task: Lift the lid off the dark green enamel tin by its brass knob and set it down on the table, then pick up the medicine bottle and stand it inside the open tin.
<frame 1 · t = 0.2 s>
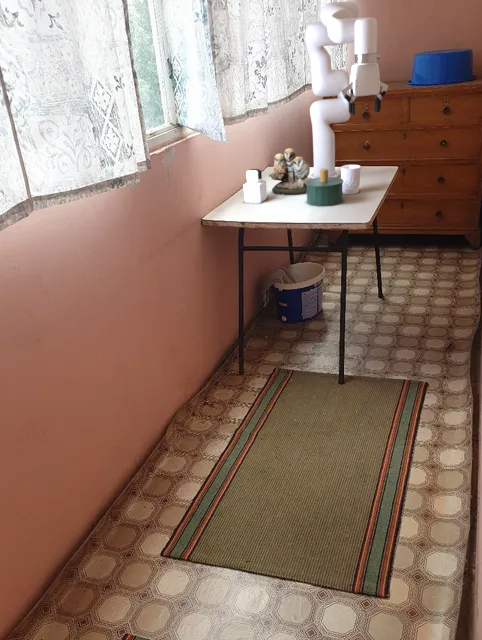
hand: (364, 113, 218), 31 cm above the table, tool pointing down, fingers open, 9 cm apart
tin: (324, 201, 236), on the table
medicine bottle: (255, 201, 244), on the table
white cup: (350, 192, 246), on the table
lid: (324, 183, 232), point 7 cm above the table, touching tin
owl figurine: (291, 191, 253), on the table
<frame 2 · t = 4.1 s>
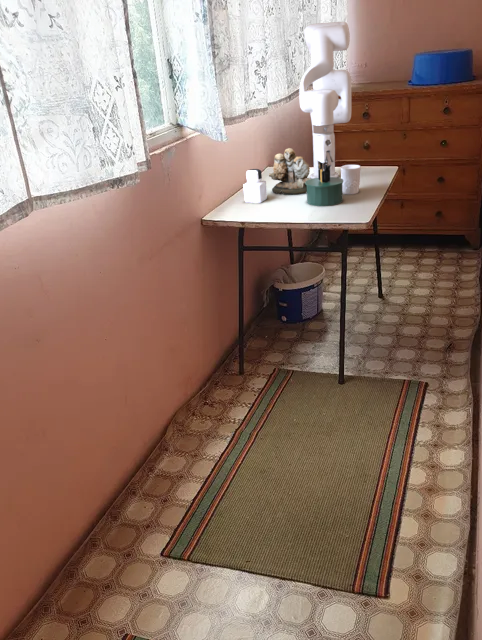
hand: (324, 180, 232), 8 cm above the table, tool pointing down, fingers closed on lid, 3 cm apart
lid: (324, 183, 232), point 7 cm above the table, touching gripper, tin
everything else where it was.
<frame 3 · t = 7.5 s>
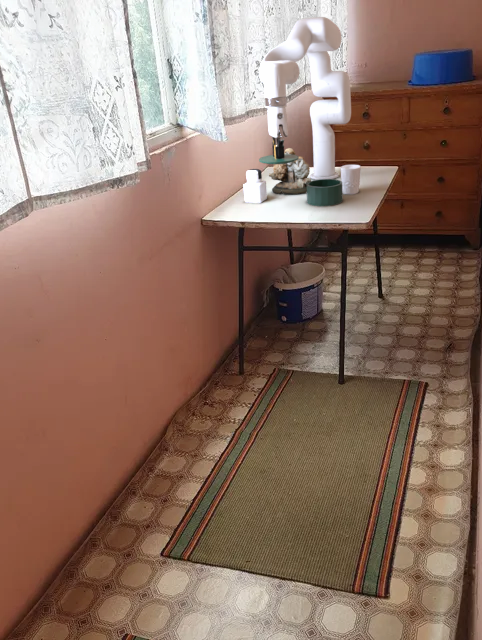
hand: (278, 156, 222), 19 cm above the table, tool pointing down, fingers closed on lid, 3 cm apart
lid: (278, 159, 222), point 18 cm above the table, touching gripper
everything else where it was.
when the fingers open (2 cm above the table, at t = 10.8 s): lid stays where it is, point 1 cm above the table.
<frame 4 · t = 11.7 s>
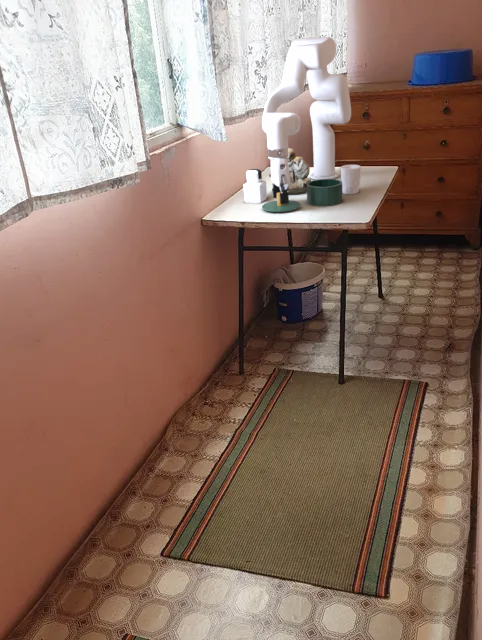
hand: (280, 200, 230), 3 cm above the table, tool pointing down, fingers open, 9 cm apart
lid: (281, 206, 231), point 1 cm above the table
everything else where it was.
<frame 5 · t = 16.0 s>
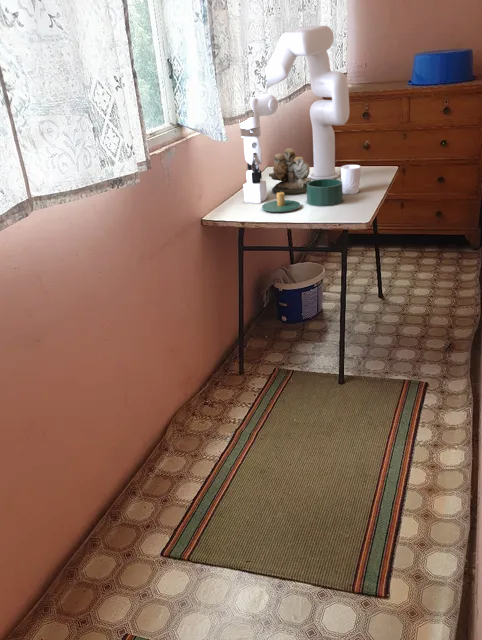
hand: (254, 180, 240), 8 cm above the table, tool pointing down, fingers closed on medicine bottle, 6 cm apart
medicine bottle: (255, 201, 244), on the table, touching gripper
everything else where it was.
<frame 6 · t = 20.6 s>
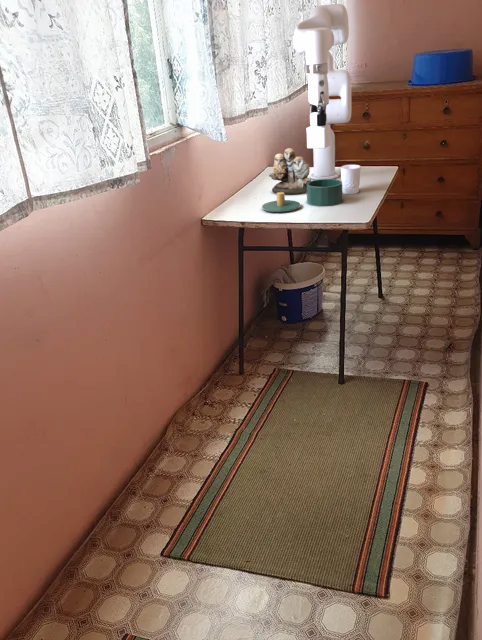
hand: (318, 124, 222), 28 cm above the table, tool pointing down, fingers closed on medicine bottle, 6 cm apart
medicine bottle: (318, 147, 226), point 20 cm above the table, touching gripper
everything else where it was.
when the fingers open (8 cm above the table, at t = 25.4 s): medicine bottle stays where it is, resting on tin.
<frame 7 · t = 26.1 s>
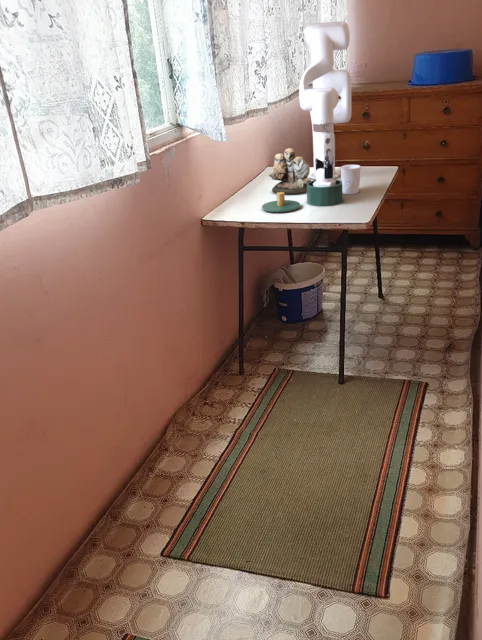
hand: (324, 175, 231), 10 cm above the table, tool pointing down, fingers open, 9 cm apart
medicine bottle: (324, 200, 236), resting on tin
everything else where it was.
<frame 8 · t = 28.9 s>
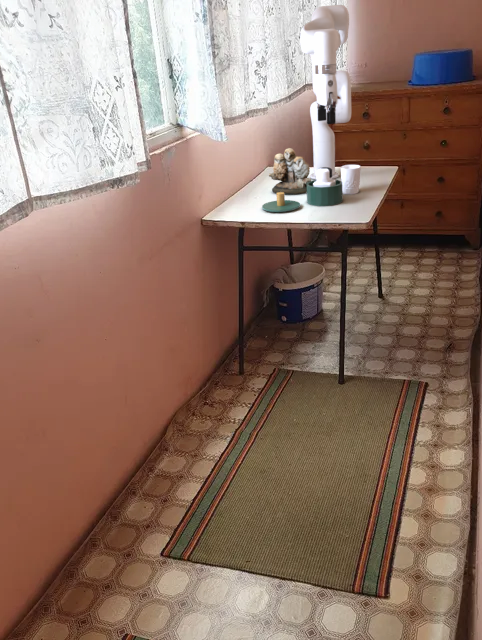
hand: (326, 122, 223), 28 cm above the table, tool pointing down, fingers open, 9 cm apart
nothing on the table moved.
at the end: lid inside the target area (0.0 cm from its centre), point 0.6 cm above the table; medicine bottle 0.1 cm off-centre in the tin, point 0.3 cm above the tin's base; medicine bottle tilted 0° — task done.
